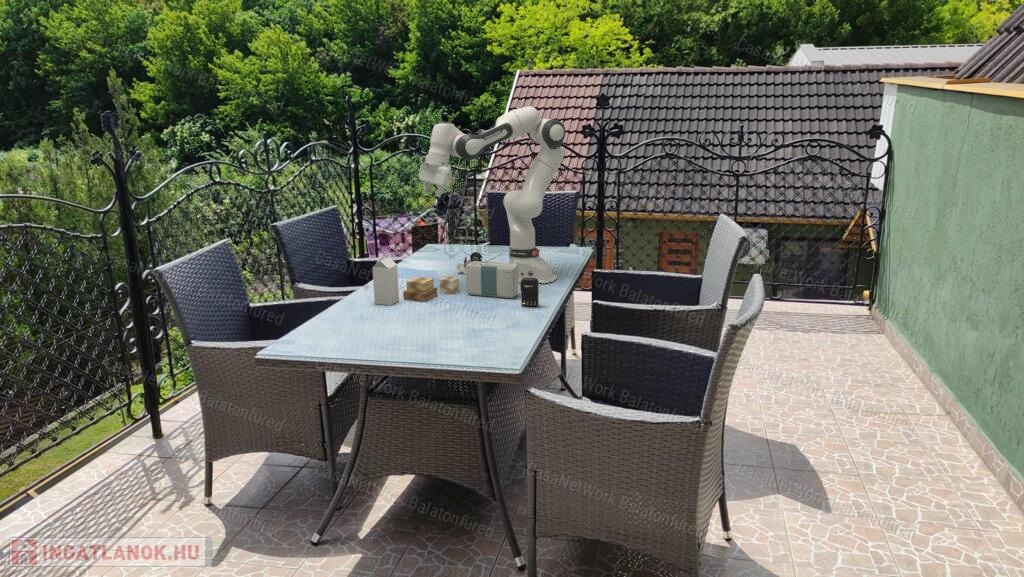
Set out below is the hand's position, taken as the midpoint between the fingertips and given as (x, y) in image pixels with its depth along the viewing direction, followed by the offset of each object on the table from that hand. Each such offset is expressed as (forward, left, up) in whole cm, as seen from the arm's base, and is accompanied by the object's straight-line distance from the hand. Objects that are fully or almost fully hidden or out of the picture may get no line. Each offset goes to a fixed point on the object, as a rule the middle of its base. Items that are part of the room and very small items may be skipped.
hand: (431, 194), depth 284 cm
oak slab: (-1, +15, -37) cm, 39 cm away
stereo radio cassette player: (-27, +1, -40) cm, 49 cm away
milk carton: (+8, +26, -40) cm, 48 cm away
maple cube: (-8, +3, -40) cm, 41 cm away
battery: (-47, +11, -40) cm, 63 cm away
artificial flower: (+2, -38, -41) cm, 56 cm away
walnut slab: (-1, +15, -41) cm, 43 cm away
